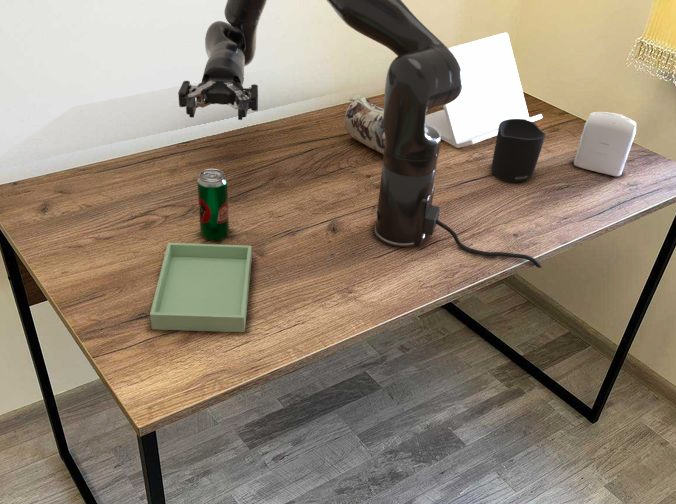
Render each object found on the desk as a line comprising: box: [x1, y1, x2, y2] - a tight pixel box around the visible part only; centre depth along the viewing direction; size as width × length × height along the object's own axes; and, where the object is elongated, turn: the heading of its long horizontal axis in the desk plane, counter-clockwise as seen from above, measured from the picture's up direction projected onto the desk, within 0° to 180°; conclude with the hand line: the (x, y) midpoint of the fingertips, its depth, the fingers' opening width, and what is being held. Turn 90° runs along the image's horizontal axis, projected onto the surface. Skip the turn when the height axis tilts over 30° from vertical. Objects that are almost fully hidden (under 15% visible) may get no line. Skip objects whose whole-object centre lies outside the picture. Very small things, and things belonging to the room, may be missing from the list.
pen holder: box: [491, 119, 547, 184], centre depth 153 cm, size 9×9×10 cm
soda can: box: [196, 168, 230, 242], centre depth 130 cm, size 5×5×12 cm
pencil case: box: [343, 93, 386, 155], centre depth 157 cm, size 22×8×10 cm, turn 43°
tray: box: [149, 242, 253, 333], centre depth 120 cm, size 19×14×3 cm
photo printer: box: [573, 111, 637, 177], centre depth 156 cm, size 10×4×12 cm, turn 63°
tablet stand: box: [425, 32, 543, 149], centre depth 167 cm, size 18×25×17 cm
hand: (215, 113), depth 130 cm, fingers open, 8 cm apart
